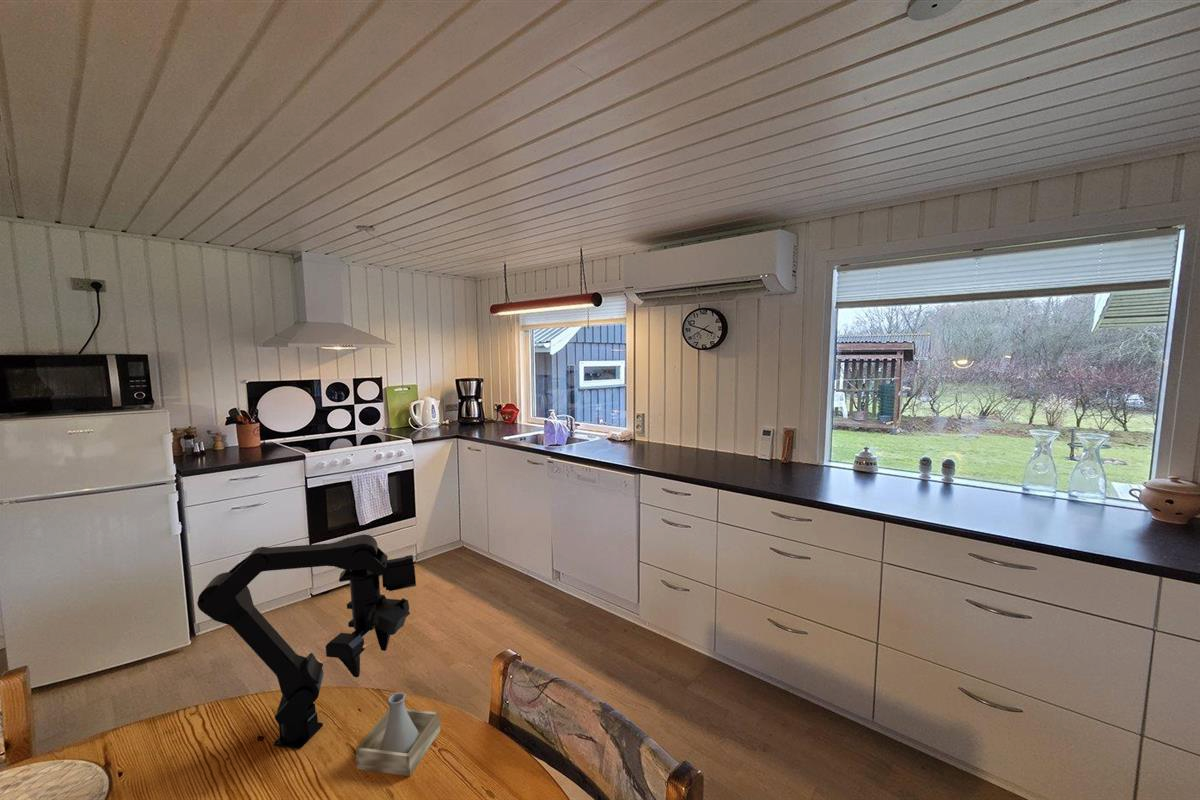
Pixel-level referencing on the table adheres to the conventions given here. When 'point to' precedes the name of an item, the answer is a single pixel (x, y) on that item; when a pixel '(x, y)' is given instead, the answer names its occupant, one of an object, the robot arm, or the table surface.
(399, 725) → the flask
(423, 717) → the crate
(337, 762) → the table surface
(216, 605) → the robot arm
